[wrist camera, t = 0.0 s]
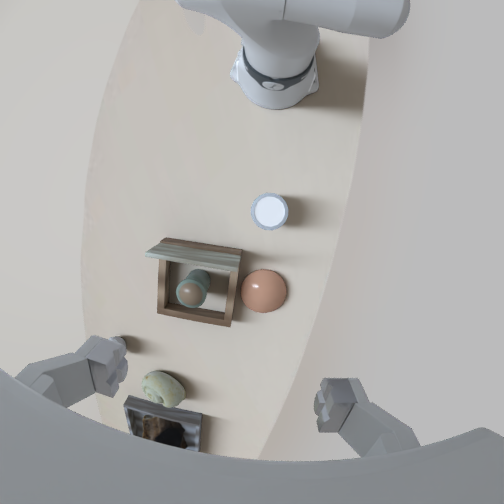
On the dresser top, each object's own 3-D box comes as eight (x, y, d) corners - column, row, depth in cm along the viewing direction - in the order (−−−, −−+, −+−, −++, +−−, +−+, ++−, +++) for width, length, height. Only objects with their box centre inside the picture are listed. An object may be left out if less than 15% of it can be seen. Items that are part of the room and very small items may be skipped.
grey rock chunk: (136, 345, 65) (126, 360, 59) (120, 352, 66) (110, 366, 60) (123, 327, 64) (112, 341, 57) (107, 335, 65) (96, 348, 58)
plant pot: (187, 265, 59) (176, 277, 51) (213, 269, 59) (207, 282, 51) (185, 290, 61) (175, 305, 53) (210, 294, 61) (204, 310, 53)
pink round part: (244, 265, 59) (244, 267, 58) (290, 273, 59) (290, 274, 58) (238, 307, 61) (237, 309, 60) (281, 313, 62) (281, 315, 61)
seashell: (139, 404, 62) (136, 383, 58) (145, 384, 70) (144, 362, 66) (183, 414, 64) (185, 395, 60) (186, 393, 71) (189, 372, 67)
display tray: (129, 395, 71) (123, 405, 66) (202, 413, 71) (199, 424, 66) (137, 435, 77) (133, 444, 72) (199, 451, 77) (197, 461, 72)
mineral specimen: (176, 415, 67) (182, 463, 61) (187, 406, 81) (191, 448, 75) (135, 411, 66) (141, 458, 60) (151, 403, 81) (155, 445, 75)
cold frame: (165, 237, 58) (145, 250, 47) (242, 249, 58) (238, 265, 47) (162, 306, 62) (144, 330, 51) (231, 319, 62) (226, 347, 51)
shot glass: (291, 214, 56) (295, 218, 49) (262, 230, 57) (263, 237, 50) (274, 185, 55) (276, 185, 48) (245, 202, 56) (243, 205, 49)
